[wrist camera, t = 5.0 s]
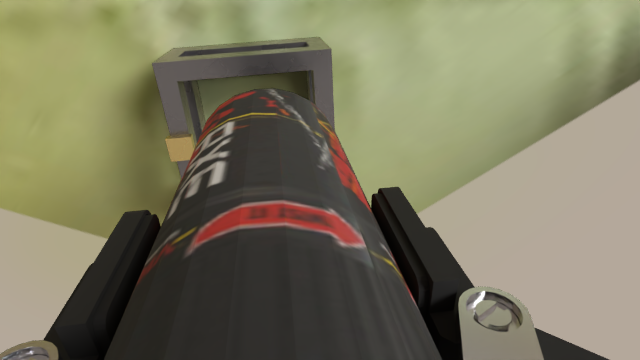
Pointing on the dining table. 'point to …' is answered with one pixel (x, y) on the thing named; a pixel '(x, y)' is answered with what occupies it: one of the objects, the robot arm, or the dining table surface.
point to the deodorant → (270, 251)
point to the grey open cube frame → (230, 61)
